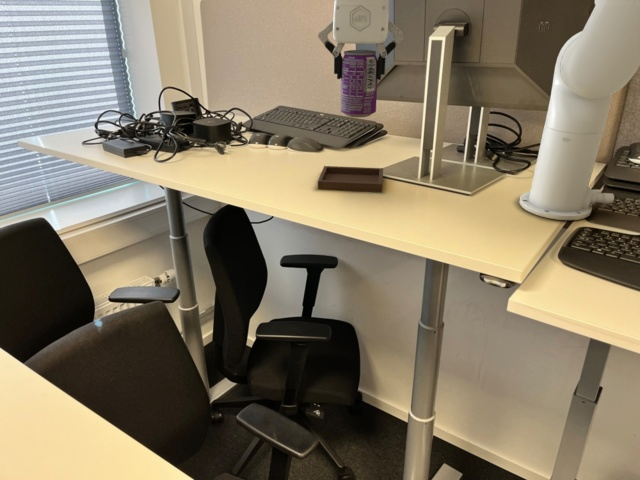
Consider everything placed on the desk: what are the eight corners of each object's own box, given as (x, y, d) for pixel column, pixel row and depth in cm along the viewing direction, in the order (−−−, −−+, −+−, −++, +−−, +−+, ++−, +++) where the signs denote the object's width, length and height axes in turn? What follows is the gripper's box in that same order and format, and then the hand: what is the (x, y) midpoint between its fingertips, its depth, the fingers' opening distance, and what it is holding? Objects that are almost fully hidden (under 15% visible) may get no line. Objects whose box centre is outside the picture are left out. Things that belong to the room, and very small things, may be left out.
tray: (382, 176, 107) (383, 168, 106) (381, 192, 98) (382, 183, 97) (324, 173, 109) (324, 165, 108) (317, 189, 100) (317, 181, 99)
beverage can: (375, 111, 98) (378, 49, 92) (375, 119, 91) (378, 53, 86) (341, 110, 98) (342, 49, 93) (339, 118, 92) (340, 53, 87)
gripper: (311, -26, 81) (312, 80, 89) (412, -27, 79) (404, 82, 87) (317, -24, 88) (318, 75, 96) (411, -26, 86) (403, 76, 94)
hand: (359, 77), depth 92 cm, fingers closed on beverage can, 7 cm apart
